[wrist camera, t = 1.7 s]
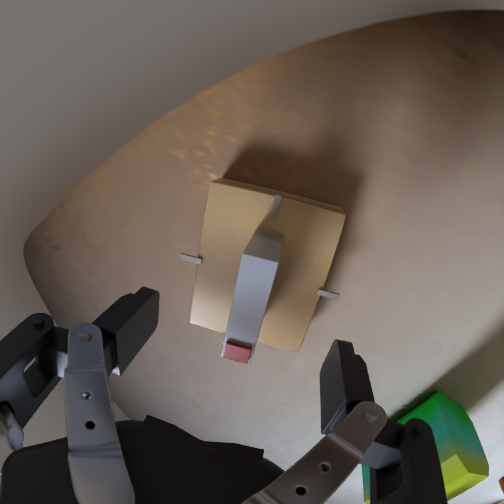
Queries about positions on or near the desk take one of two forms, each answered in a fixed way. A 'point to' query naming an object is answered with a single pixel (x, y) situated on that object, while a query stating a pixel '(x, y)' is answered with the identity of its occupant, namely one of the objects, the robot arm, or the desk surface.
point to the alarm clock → (502, 483)
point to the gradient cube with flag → (448, 445)
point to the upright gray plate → (252, 294)
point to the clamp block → (290, 263)
